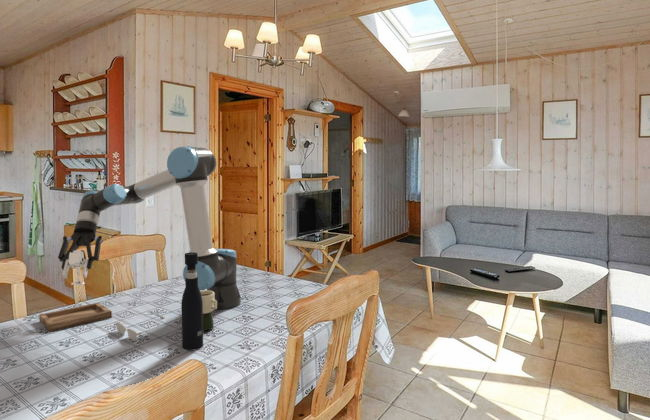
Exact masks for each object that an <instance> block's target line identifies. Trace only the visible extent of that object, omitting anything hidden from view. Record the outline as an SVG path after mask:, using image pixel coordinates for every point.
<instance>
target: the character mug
mask: <svg viewBox="0 0 650 420" xmlns="http://www.w3.org/2000/svg"><path fill="white" fill-rule="evenodd" d="M200 292H201V296H202V301H203V332H204V331H208V330H211V329H213V328H214V327H215V326H214V319H213V318H214V317H213V313H212V312H213V311H214V310H218V309H217V301H216V300H215V294H214V292H213V291H207V290H200Z"/></svg>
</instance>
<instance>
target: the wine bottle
mask: <svg viewBox="0 0 650 420" xmlns="http://www.w3.org/2000/svg"><path fill="white" fill-rule="evenodd" d="M184 264H185V266H186V265H187V271H188V272H187V273H186V278H185V280H184V283H185V287H184V290H183V293H182V298H181V304H180V305H181V325H182V328H181V347H182V349H183V350H186V351H195V350H194V349H196V350H198V348H199V349H201V348H203V346H204V331H203V301H202V296H201V292H200V291H201V290H199V287H198V277H197V272H196V271H195V270H196V264H198V253H195V252H190V253H189V252H185V253H184Z"/></svg>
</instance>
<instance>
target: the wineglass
mask: <svg viewBox="0 0 650 420" xmlns="http://www.w3.org/2000/svg"><path fill="white" fill-rule="evenodd" d="M86 259H87V256H86V252H85V250H82V249H76V250H74V251H70V252H69V257H68V264H69V266H70V267H69V268H73V269H76V270H75V272H76V281H73V282H71V285H73V286H77V285H78V286H80V285H84V284H85V283H86V282H85V281H84V280H80V276H79V274H80V269H81V268H84V264H85V260H86Z"/></svg>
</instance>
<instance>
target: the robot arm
mask: <svg viewBox="0 0 650 420" xmlns="http://www.w3.org/2000/svg"><path fill="white" fill-rule="evenodd" d="M166 167H167V168H166V170H165V169H164V170H163V171H160V172H158V173H156V174H153V175H151V176H149V177H147V178H144V179H142V180H139V181H137V182H135V183H133V184H130V185H127V186H123V185H121V184H119V183H113V184H111V185H108V186H106V187H105V188H103V189H100V190H99V191H96V190H91V191H90V190H89V191H86V192H84V193H83V195H82V198H81V200H80V206H79V210H78V214H77V217H76V221H75V225H74V229H73V233H72V235H70V236H66V235H64V236H63V237H62V244H61V246H60V247H61V248H60V249H59V253H58V256H57V258H58V260H59V262H62V264H61V270H62V274H61V275H62V277H63V279H64V280H66V279H67V278H68V274H69V270H70V268H71V267H70V266H69V264H68V257H69V252H70V251H74V250H79V247H86V248H85V249H86V254H87V258H86V260H85V264H84V266H83V270H82V274H81V275H82V277H83V278H84V279H86V278H87V277H88V272H89V270H91V269H92V267H93V262H94V261H95V262H96V261H99V260H100V253H101V252H100V251H101V244H102V243H103V242H104V240H103V239H104V238H103V236H102V235H99V236H98V235H97V236H96V234H97V229H98V223H99V218H100V215H101V213H102V212H103V211H105V210H107V209H110V208H111V207H114V206H123V205H130V204H139V203H142V202H144V201H145V200H146V199H147V198H149V197H153V196H154V195H157V194H160V193H162V192H164V191H167V190H169V189H171V188H174V187H177V186H178V187H179V188H180V192H181V198H182V205H183V206H182V207H183V212H184V220H185V225H186V233H187V241H188V246H189V247H188V248H189V252H188V253H190V252H195V253H198V264H196V270H195V271H196V272H197V277H198V287H199V290H200V291H213V292H214V294H215V300H216V301H217V309H216V310H224V309H225V310H226V309H231V308H234V307H237V306H239V305H240V304H241V303H242V296H241V294H240V292H239V291H240V290H239V288H238V285H237V259H238V257H237V251H236V250H234V249H230V248H214V246H213V237H212V230H211V225H210V224H211V223H210V217H209V216H210V215H209V211H208V203H207V196H206V195H207V194H206V189H205V186H206V184H207V182H208V177H209V176H210V175H212V174H213V173H214V172H215V170H216V167H217V158H216V156H215V154H214V153H213V152H212V151H211V150H209V149H207V148H204V147H196V146H190V145H188V146H186V145H185V146H179V147H176V148H174V149H173V150H172V151H171V152H170V153H169V155H168V156H167V160H166ZM71 241H72V243H71ZM94 241H95V245H94V246H95V247H94V251H92V245H91V244H92V243H93V242H94ZM70 243H71V245H70ZM69 245H70V247H69ZM93 252H94V253H93ZM187 272H188V271H187V265H185V266H184V268H183V270H182V277H183V280H184V281H185V278H186V273H187Z"/></svg>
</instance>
